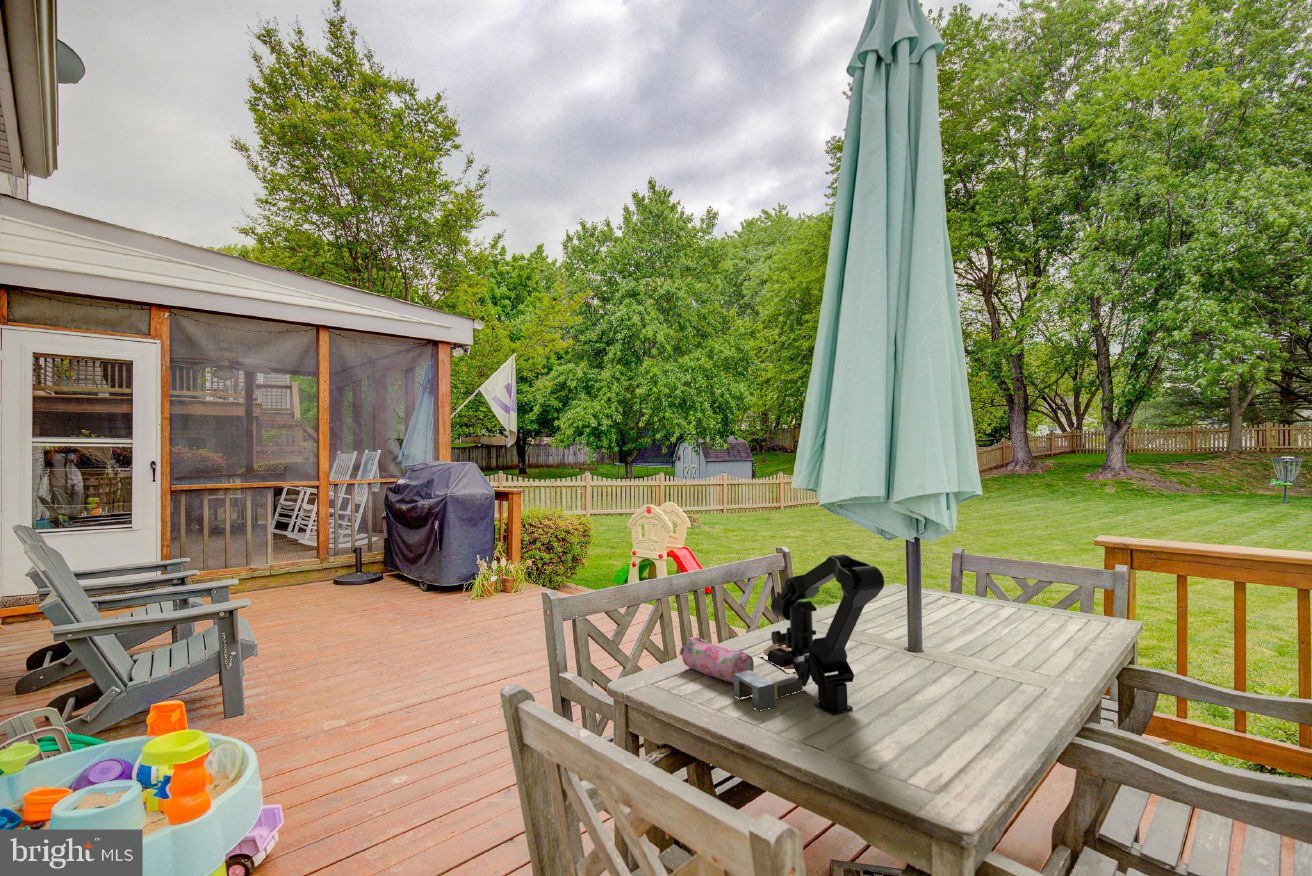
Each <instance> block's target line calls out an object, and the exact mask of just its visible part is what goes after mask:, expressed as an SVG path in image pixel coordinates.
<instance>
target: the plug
mask: <svg viewBox="0 0 1312 876" xmlns="http://www.w3.org/2000/svg"><path fill="white" fill-rule="evenodd" d="M772 682H773V683H775V700H776V699H777V697H781V696H785V695H787V694H792V693H794V692H798V691H801V690H803V686H802V679H799V678H798V676H792V677H790V678H785V679H781V680H778V681H772ZM792 695H793V694H792ZM785 697H786V696H785ZM781 698H782V697H781ZM777 700H778V699H777ZM777 700H776V701H777Z"/></svg>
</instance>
